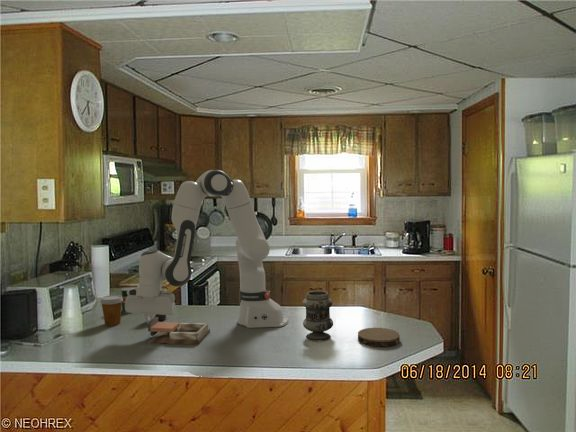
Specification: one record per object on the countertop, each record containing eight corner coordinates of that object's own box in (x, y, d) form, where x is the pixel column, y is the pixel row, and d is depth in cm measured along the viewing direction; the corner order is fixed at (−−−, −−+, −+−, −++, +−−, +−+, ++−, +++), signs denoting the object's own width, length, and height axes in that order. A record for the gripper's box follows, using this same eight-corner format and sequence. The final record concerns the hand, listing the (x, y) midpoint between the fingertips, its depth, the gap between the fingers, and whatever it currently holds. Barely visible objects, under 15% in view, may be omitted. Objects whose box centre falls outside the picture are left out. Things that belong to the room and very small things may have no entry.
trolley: (179, 331, 200) (179, 317, 199) (172, 337, 192) (172, 323, 192) (156, 330, 201) (155, 317, 201) (148, 336, 193) (147, 322, 193)
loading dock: (210, 334, 202) (209, 322, 202) (199, 347, 187) (198, 334, 187) (161, 333, 205) (160, 321, 204) (146, 345, 190) (145, 332, 190)
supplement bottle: (168, 317, 225) (167, 292, 224) (163, 321, 218) (162, 295, 217) (154, 317, 226) (153, 291, 225) (148, 321, 219) (147, 295, 218)
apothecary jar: (317, 330, 202) (316, 287, 201) (339, 337, 194) (339, 292, 192) (296, 337, 194) (296, 293, 193) (319, 344, 185) (318, 297, 184)
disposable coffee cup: (128, 321, 219) (127, 295, 219) (114, 327, 210) (113, 300, 210) (111, 320, 223) (110, 294, 222) (96, 326, 214) (95, 299, 213)
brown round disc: (350, 343, 187) (350, 335, 187) (368, 332, 200) (368, 325, 200) (389, 351, 178) (389, 343, 178) (405, 339, 191) (405, 331, 191)
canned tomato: (123, 313, 233) (122, 291, 232) (120, 309, 240) (120, 287, 239) (140, 311, 237) (139, 289, 236) (137, 307, 244) (136, 286, 243)
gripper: (177, 290, 198) (177, 323, 199) (130, 287, 201) (130, 320, 202) (171, 293, 192) (171, 328, 193) (123, 290, 195) (122, 324, 196)
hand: (150, 324), depth 197 cm, fingers closed
